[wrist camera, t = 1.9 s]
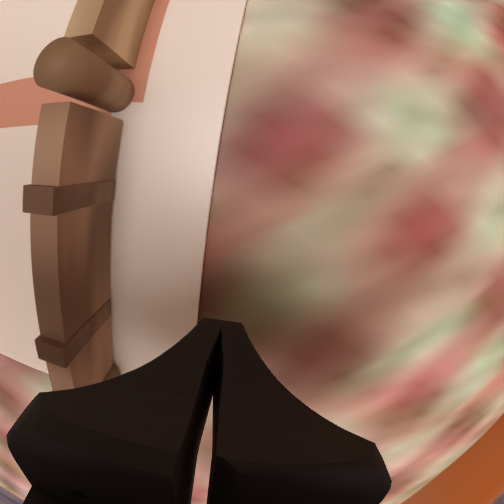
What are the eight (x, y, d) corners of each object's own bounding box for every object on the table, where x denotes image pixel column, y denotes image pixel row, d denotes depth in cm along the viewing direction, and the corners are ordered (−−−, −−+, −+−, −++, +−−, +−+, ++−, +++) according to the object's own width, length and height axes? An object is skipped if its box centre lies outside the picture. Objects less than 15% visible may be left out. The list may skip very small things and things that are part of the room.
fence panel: (91, 119, 9) (23, 102, 5) (130, 120, 9) (69, 96, 5) (91, 380, 12) (55, 437, 8) (121, 389, 12) (90, 450, 8)
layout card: (-59, 317, 12) (-62, 319, 12) (-5, -44, 5) (-7, -45, 5) (191, 408, 13) (189, 413, 12) (274, -103, 6) (274, -107, 6)
